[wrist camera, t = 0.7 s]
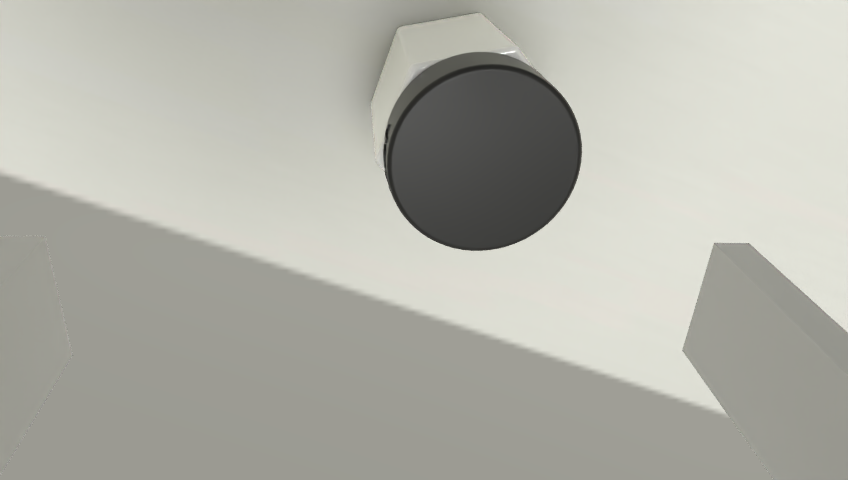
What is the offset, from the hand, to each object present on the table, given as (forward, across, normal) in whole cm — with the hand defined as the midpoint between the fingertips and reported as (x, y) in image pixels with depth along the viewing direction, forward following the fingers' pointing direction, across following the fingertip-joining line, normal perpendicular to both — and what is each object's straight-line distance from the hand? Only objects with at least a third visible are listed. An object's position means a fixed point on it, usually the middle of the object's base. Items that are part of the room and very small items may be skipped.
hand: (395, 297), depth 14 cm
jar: (+26, +4, -3) cm, 26 cm away
